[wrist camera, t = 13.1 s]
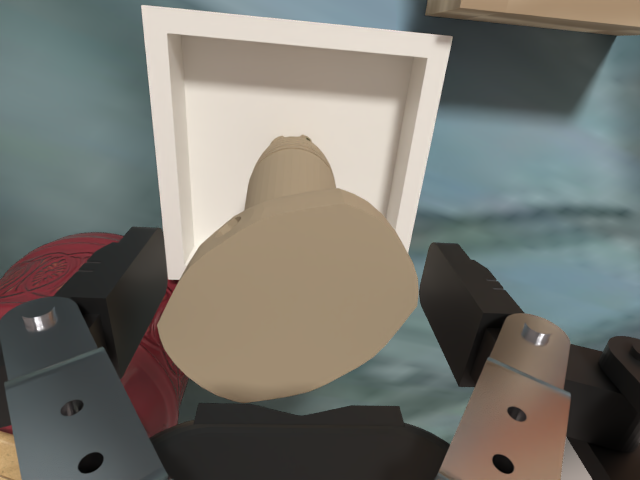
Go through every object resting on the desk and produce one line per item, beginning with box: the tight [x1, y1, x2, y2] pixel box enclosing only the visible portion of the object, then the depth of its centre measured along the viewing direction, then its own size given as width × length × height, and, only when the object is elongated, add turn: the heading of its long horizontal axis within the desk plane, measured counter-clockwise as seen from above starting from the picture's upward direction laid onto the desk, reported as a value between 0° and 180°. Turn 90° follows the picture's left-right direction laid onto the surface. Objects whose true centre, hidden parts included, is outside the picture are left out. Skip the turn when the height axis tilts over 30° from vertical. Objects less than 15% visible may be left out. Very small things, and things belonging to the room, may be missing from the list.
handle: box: [157, 135, 418, 403], centre depth 16 cm, size 5×6×15 cm
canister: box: [0, 232, 189, 480], centre depth 20 cm, size 13×13×18 cm
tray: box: [141, 5, 453, 280], centre depth 22 cm, size 14×14×4 cm
